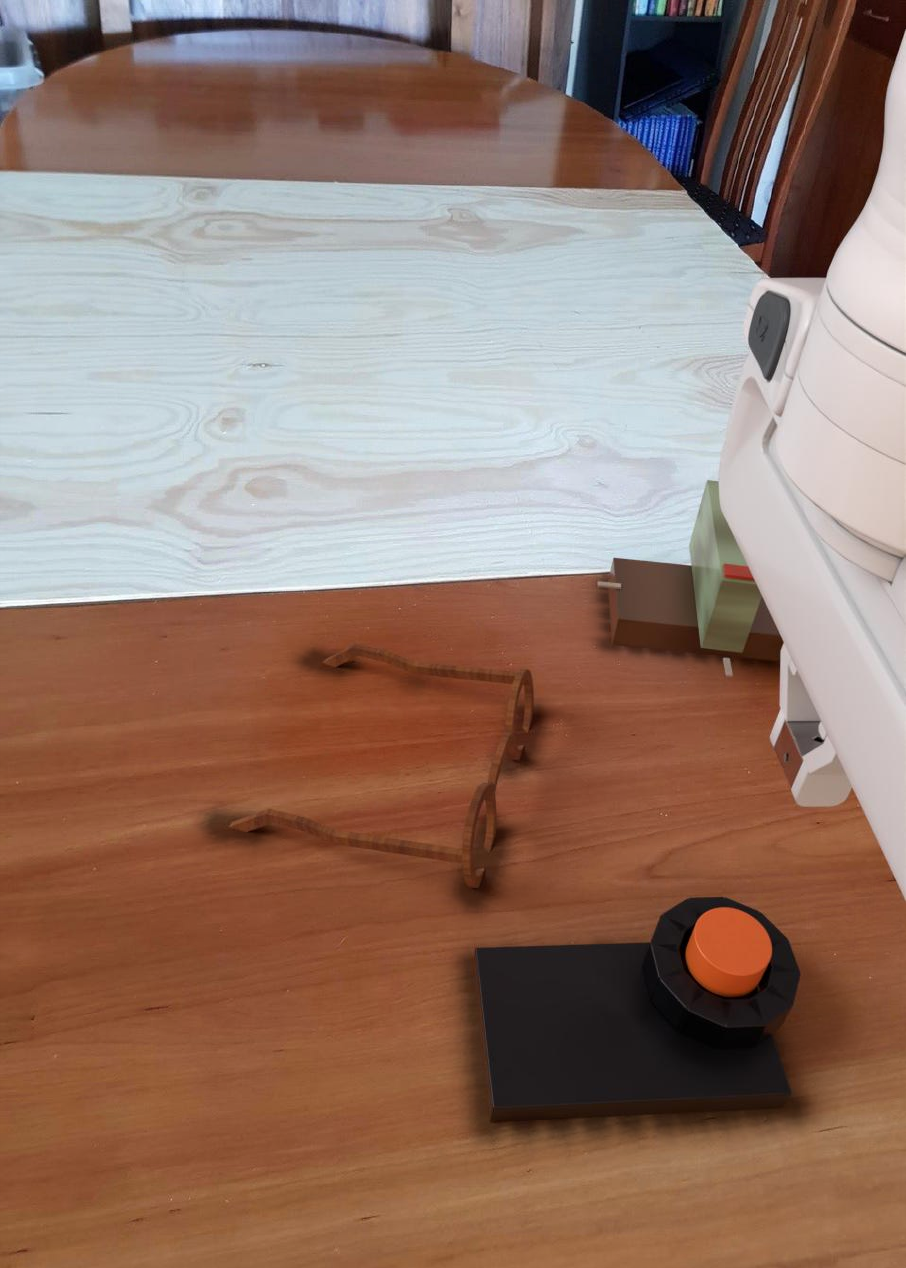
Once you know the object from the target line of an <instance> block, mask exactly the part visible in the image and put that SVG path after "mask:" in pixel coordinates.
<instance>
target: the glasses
mask: <svg viewBox="0 0 906 1268" xmlns="http://www.w3.org/2000/svg"><path fill="white" fill-rule="evenodd" d="M357 657H362V658H366V659H371V660H374V661H378V662H382V663H386V664H389V665H391V666H393V667H396V668H398V669H401V670H403V671H406V672H407V673H411V674H413V675H419V676H429V677H438V678H448V679H458V680H466V681H467V680H469V681H478V682H488V683H489V682H490V683H497V684H507V685H508V684H509V685H511V688H510V692H509V697H508V702H507V708H506V715H505V723H504V724H505V725H504V727H505V729H504V730H505V731H504V732H503V734H502V735H501V737H500V739H499V742H498V745H497V748H496V750H495V753H494V756H493V760H492V762H491V765H490V768H489V773H488V778H487V782H482V783H480V784H479V785H478V786H477V787H476V788H475V789H476V790H475V791H474V793H473V796H472V797H471V801H470V804H469V807H468V810H467V814H466V819H465V824H464V828H463V837H462V847H461V848H459V847H452V846H447V845H440V844H432V843H425V842H420V841H412V840H405V839H398V838H392V837H384V836H378V835H372V834H365V833H357V832H351V831H346V830H345V831H344V830H338V829H335V828H332V827H329V826H327V825H325V824H322V823H320V822H317V821H315V820H312V819H310V818H307V817H305V816H301V815H297V814H293V813H288V812H285V811H280V810H276V809H272V808H266V810H261V811H259V812H256V813H253V814H251V815H248V816H245V817H242V818H239V819H237V820H233V821H232V822H231V823H230V824H229V825H228V828H229V829H233V830H237V831H240V832H245V833H248V832H250V831H254V830H256V829H259V828H262V827H263V828H264V827H265V826H268V825H271V824H276V825H279V826H282V827H283V826H284V827H287V828H291V829H295V830H298V831H301V832H305V833H308V834H310V835H312V836H315V837H317V838H319V839H322V840H325V841H327V842H330V843H332V844H334V845H338V846H343V847H352V848H357V849H363V850H364V849H365V850H370V851H376V852H377V851H378V852H384V853H390V854H395V855H396V854H397V855H403V856H409V857H416V858H424V859H430V860H437V861H443V862H450V863H455V864H461V865H462V866H461V867H462V875H463V879H464V883H465V885H466V886H467V887H468V888H471V889H473V888H474V889H480V888H479V887H480V884H481V881H482V879H483V875H484V872H485V869H486V867H481V868H478V869H475V865H474V841H475V834H476V828H477V822H478V818H479V815H480V813H481V810H482V806H483V804H484V803H485V810H486V826H485V827H486V829H485V838H484V843H483V848H484V849H485V850H486V852H487V853H488V854H490V853H491V850H492V847H493V844H494V841H495V837H496V834H497V798H496V792H497V791H496V789H497V786H498V781H499V778H500V774H501V772H502V768H503V766H504V763H505V761H506V760H505V759H506V756H507V754H508V757H509V759H510V760H512V761H520V759H521V757H522V753H523V750H524V747H525V744H521V745H518V744H517V735H516V718H517V717H516V716H517V709H518V703H519V699H520V694H521V691H522V688H523V690H524V714H523V720H522V721H523V722H522V730H523V731H524V732H526V733H527V734H528V733H529V730H530V727H531V725H532V722H533V718H534V701H535V700H534V699H535V696H534V694H535V693H534V691H535V690H534V681H533V675H532V672H531V670H530V669H529V668H519V670H517V671H511V670H510V671H509V670H500V669H490V668H481V667H470V666H460V665H451V664H450V665H449V664H439V663H429V662H418V661H414V660H411V659H409V658H406V657H404V656H401V655H398V654H397V653H393V652H390V651H388V650H385V649H380V648H375V647H371V646H367V645H360V644H357V643H354V644H352V645H351V646H348V647H347V648H344V649H343V650H341V651H339V652H337V653H335V654H333V655H331V656H328V657H327V658H325V659H324V660H323V661H322V662H321V664H324V665H327V666H330V667H333V668H337V667H339V666H341V665H343V664H344V663H346V662H347V663H348V662H349V661H351V660H352V659H353V660H354V659H355V658H357Z"/></svg>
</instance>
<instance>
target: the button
mask: <svg viewBox="0 0 906 1268" xmlns="http://www.w3.org/2000/svg"><path fill="white" fill-rule="evenodd" d="M771 956H772V944H771V940H770V937H769V935H768V933H767V931H766V930H765V929H764V927H763V926H762V925H761V924H760V923H759V922H758V921H757V920H756V919H755V918H753V917H752V916H751V915H749V914H747V913H745V912H743V911H740V910H738V909H734V908H728V907H721V908H715V909H711V910H709V911H707V912H705V913H704V914H703V915H702V916H701V917H700V918H699V919H698V920H697V922H696V925H695V927H694V930H693V932H692V935H691V937H690V940H689V942H688V945H687V947H686V953H685V957H686V963H687V966H688V969H689V971H690V973H691V975H692V976H693V977H694V979H695V980H696V981H697V982H698V983H699V984H700V985H701V986H702V987H704V988H705V989H707V990H708V991H710V992H712V993H714V994H717V995H720V996H724V997H740V996H744V995H746V994H748V993H750V992H752V991H753V990H754V989H755V988H756V987H757V988H758V986H759V982H760V980H761V978H762V976H763V974H764V972H765V970H766V968H767V966H768V964H769V962H770V959H771Z"/></svg>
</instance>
